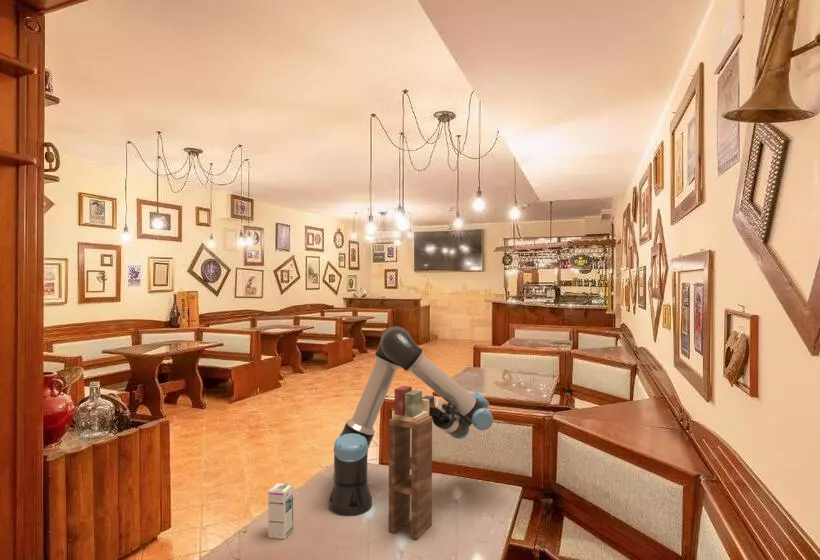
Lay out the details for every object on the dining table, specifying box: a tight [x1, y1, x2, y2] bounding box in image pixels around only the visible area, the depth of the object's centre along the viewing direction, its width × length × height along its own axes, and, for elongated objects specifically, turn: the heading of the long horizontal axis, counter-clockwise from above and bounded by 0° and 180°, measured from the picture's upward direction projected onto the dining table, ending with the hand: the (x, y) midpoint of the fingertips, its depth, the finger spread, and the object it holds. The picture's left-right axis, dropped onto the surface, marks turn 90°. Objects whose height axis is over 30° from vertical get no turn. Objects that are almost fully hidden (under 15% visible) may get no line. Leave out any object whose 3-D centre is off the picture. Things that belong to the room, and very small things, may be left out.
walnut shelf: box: [388, 416, 433, 541], centre depth 150 cm, size 10×10×35 cm
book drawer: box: [392, 385, 435, 423], centre depth 154 cm, size 8×19×10 cm, turn 152°
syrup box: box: [267, 482, 294, 540], centre depth 146 cm, size 6×6×14 cm
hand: (419, 401), depth 159 cm, fingers open, 12 cm apart
